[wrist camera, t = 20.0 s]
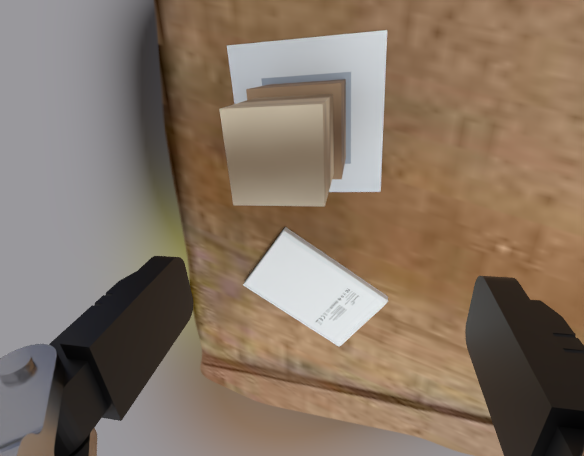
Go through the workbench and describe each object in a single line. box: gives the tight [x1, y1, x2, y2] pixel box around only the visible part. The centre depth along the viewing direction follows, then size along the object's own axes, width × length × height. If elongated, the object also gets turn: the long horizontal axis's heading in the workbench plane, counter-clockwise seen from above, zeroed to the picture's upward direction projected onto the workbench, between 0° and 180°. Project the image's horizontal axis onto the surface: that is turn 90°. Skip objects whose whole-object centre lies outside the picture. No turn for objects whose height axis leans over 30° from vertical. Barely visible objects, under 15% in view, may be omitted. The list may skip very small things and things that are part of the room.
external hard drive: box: [243, 227, 388, 346], centre depth 35 cm, size 2×8×12 cm
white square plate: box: [227, 30, 387, 192], centre depth 28 cm, size 12×12×1 cm
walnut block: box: [246, 79, 346, 179], centre depth 25 cm, size 6×6×6 cm
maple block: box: [219, 94, 334, 206], centre depth 20 cm, size 5×5×6 cm
